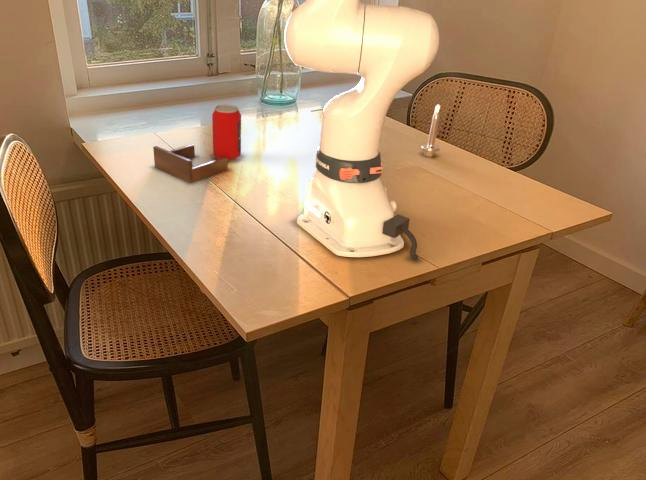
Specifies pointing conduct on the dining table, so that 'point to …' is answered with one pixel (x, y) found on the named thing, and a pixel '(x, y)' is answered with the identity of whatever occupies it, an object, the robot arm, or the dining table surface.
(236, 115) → the beverage can
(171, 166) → the bay
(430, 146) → the screw
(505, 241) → the dining table surface
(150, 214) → the dining table surface
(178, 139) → the dining table surface
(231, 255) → the dining table surface
